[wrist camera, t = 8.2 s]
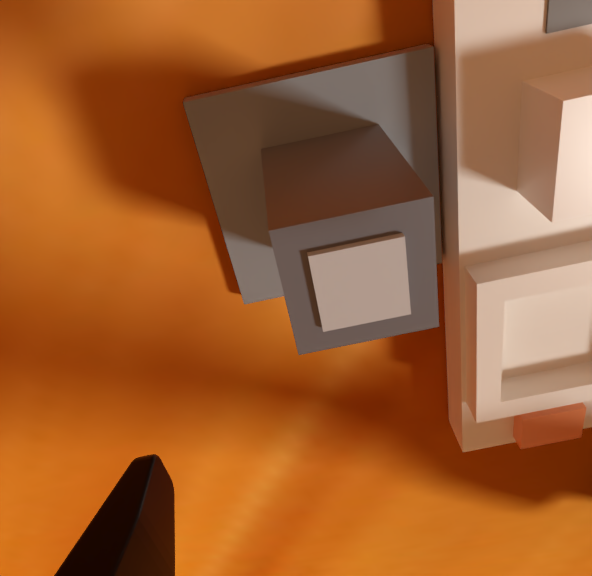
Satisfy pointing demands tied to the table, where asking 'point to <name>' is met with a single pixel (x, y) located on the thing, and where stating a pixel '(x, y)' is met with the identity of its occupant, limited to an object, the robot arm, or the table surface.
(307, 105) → the coaster
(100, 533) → the robot arm
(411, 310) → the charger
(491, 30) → the power strip
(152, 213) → the table surface
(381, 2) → the table surface
